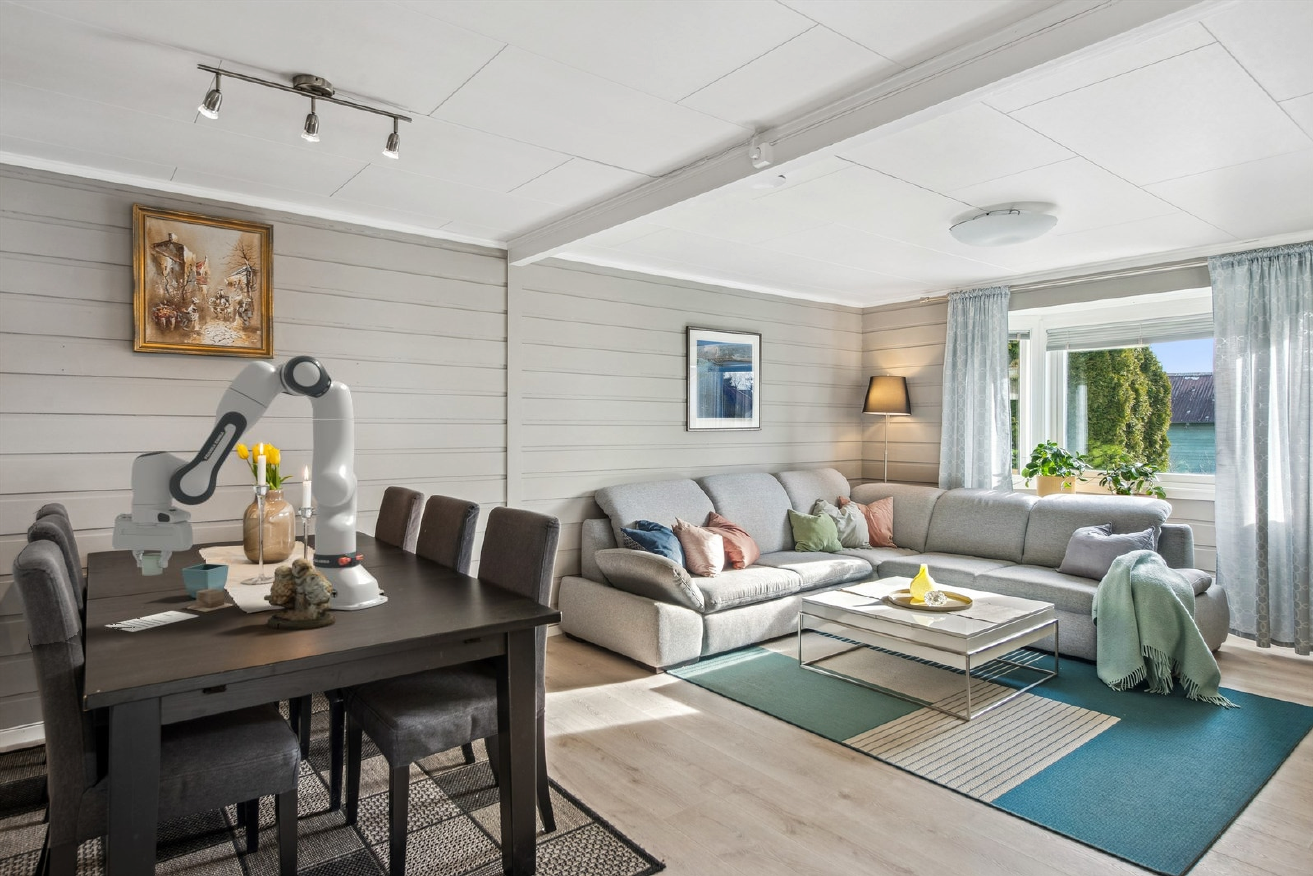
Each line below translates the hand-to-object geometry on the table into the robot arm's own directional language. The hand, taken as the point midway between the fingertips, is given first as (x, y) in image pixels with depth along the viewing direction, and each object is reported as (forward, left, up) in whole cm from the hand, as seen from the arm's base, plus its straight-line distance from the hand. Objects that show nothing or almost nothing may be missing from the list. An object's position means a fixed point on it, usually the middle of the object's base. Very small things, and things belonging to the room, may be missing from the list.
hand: (152, 567), depth 197 cm
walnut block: (+1, -16, -14) cm, 21 cm away
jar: (0, 0, -2) cm, 2 cm away
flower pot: (+15, -24, -14) cm, 32 cm away
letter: (0, 0, -14) cm, 14 cm away
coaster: (+1, -16, -14) cm, 21 cm away
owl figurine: (-35, -16, -14) cm, 41 cm away
